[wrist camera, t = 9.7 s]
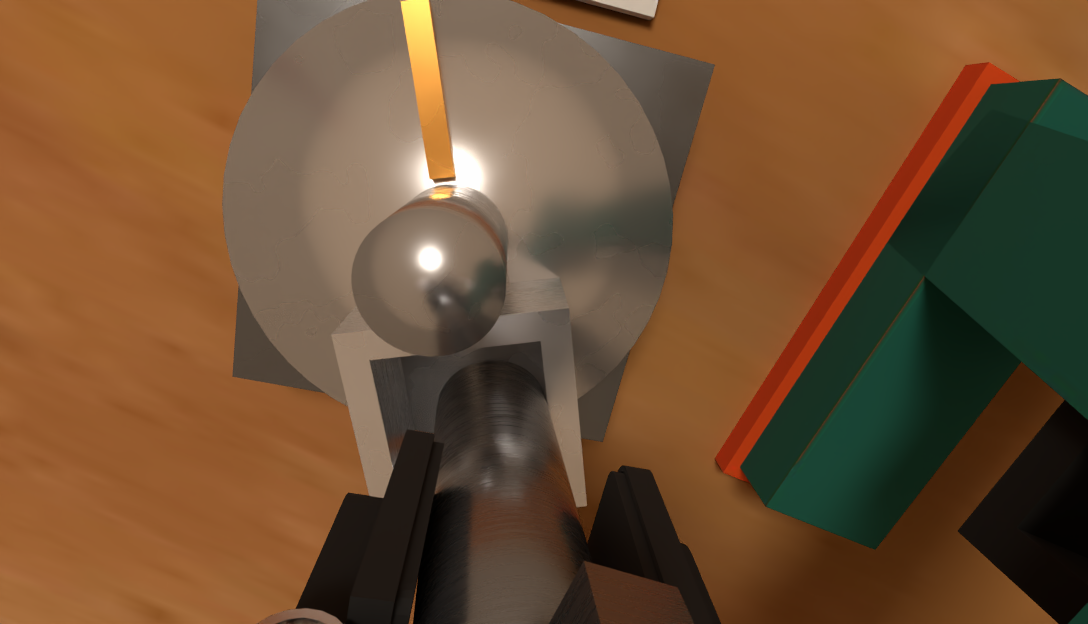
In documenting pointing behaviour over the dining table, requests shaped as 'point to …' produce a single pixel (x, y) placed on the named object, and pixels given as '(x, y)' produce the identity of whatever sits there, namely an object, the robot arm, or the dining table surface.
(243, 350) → the stand
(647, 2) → the key mat
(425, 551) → the chuck key
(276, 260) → the collar
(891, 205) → the power tool
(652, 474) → the robot arm
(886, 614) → the dining table surface
